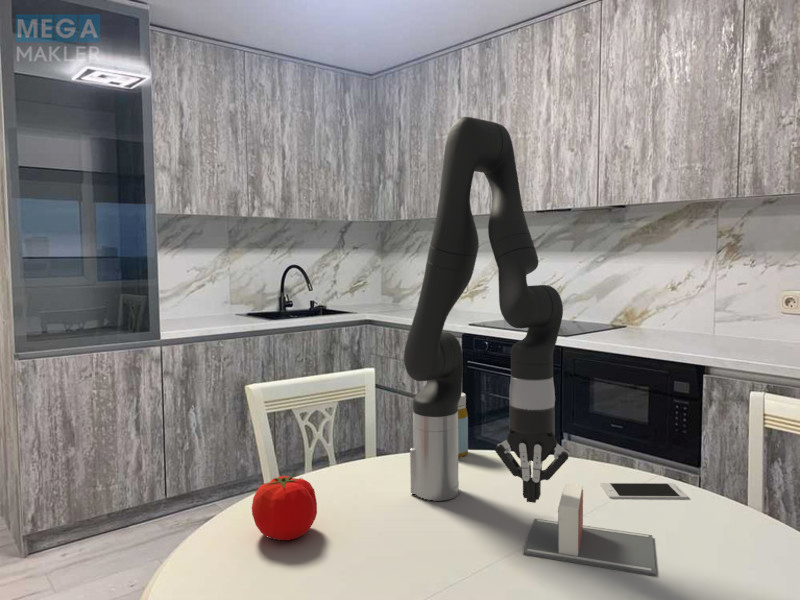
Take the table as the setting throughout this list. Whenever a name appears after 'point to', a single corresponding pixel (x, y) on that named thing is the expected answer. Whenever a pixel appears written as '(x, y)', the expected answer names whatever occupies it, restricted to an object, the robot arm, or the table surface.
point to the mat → (595, 547)
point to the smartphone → (643, 491)
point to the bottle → (462, 427)
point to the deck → (570, 519)
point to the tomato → (284, 508)
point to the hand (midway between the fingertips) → (532, 500)
